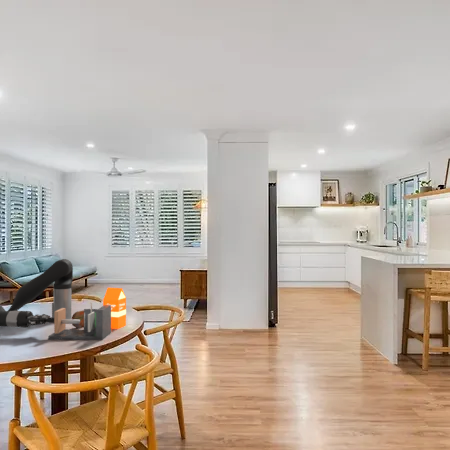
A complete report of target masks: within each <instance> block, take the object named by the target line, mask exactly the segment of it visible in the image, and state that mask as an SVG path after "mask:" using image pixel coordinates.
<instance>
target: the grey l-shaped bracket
mask: <svg viewBox="0 0 450 450" xmlns="http://www.w3.org/2000/svg"><path fill="white" fill-rule="evenodd" d="M83 310H84V327H83V329H70V328H69V329H67V328H65V330H63V331H61V332H60V333H54V332H52V333H51V334H50V335H48V338H47V339H48V340H51V341H52V340H54V341H56V340H57V341H58V340H59V341H60V340H61V341H62V340H64V341H69V340H71V341H72V340H73V341H74V340H75V341H78V340H79V341H81V340H82V341H85V340H86V341H89V340H90V341H103V340H105V339H106V338H107V337H108V336H110V335H111V334H112V329H111V305H104V306H103V305H102V306H101V307H99V308H92V312H95V329H94V330H92V331H91V332H88V314H90V313H91V308H84V309H83Z"/></svg>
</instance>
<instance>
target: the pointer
mask: <svg viewBox="0 0 450 450" xmlns="http://www.w3.org/2000/svg"><path fill="white" fill-rule="evenodd" d="M90 309H91V313H90V314H88V332H91V331H92V330H94V329H95V312H92V309H93V302H90Z"/></svg>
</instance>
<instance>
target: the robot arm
mask: <svg viewBox="0 0 450 450" xmlns="http://www.w3.org/2000/svg"><path fill="white" fill-rule="evenodd" d="M73 270H74V268H73V263H72V262H71V260H69V259H66V258H62V259H59V260H58V259H57V260H56V261H55V262H54V263H53V264H51V266H50V267H48V268H47V269H46V270H45V271H44V272H43V273H40V274H39V275H37V276H36V277H34V278H33V279H30V280H29V281H27V282H26V283H24V284H23V285H22V286H21V287H20V288H18V290H17V292H16V293H15V297H14V299H13V302H12V304H11V306H9V309H8V310H6V309H5V308H4V307H3V305H1V304H0V327H9V328H30V327H31V326H39V325H45V324H48V323H49V324H53V323H54V312H55V311H57V310H59V309H61V308H66V319H72V285H73V284H72V283H73V279H74V277H73V274H74V273H73V272H74V271H73ZM52 284H53V302H51V315H48V314H44V313H43V314H41V315H40V314H35V315H34V314H33V311H29V310H20V309H22V308H23V307H24V306H26V305H27V304H29V303H30V302H32V301H33V300H34V299H36V298H37V297H39V296H40V295H41V294H42V293H43V292H44V291H46V289H47V288H48V287H49V286H50V285H52Z"/></svg>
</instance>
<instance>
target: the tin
mask: <svg viewBox="0 0 450 450" xmlns="http://www.w3.org/2000/svg"><path fill="white" fill-rule="evenodd" d="M71 319H79V320H80V324H71V325H72V326H73V327H74V328H77V329H81V328H84V309H82V310H79V311H76V312H74V313H73V315H71Z"/></svg>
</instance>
